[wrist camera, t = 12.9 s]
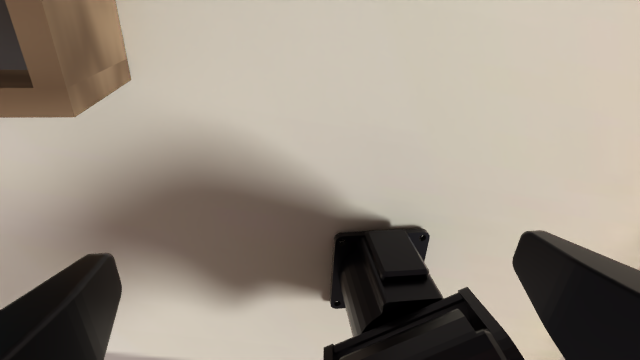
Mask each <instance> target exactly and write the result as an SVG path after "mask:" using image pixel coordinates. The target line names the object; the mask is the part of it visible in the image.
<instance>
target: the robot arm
mask: <svg viewBox="0 0 640 360" xmlns="http://www.w3.org/2000/svg"><path fill="white" fill-rule="evenodd" d="M422 235H423V237H421V238H419V237H420V236H422ZM342 239H344V241H343V242H339V241H340V240H342ZM428 242H429V234H428V233H427V231H426V230H425V229H406V230H403V229H399V230H378V231H366V232H346V233H339V234H337V235H336V236H335V238H334V247H333V262H332V276H331V290H330V303H331V307H332V308H335V309H338V308H346V311H347V315H348V319H349V323H350V326H351V330H352V334H353V337H352V338H350V339H348V340H345V341H343V342H340V343H338V344H336V345H333V344H331V345H329V346H326V347H324V360H524V358H523V356H522V355H521V353H520V352H519V350H518V349H517V347H516V345H515V344H514V343H513V341H512V340H511V338H510V337H509V336H508V334H507V333H506V332H505V331H504V329H503V328H502V327H501V326H500V325H499V323H498V322H497V321H496V320H495V319H494V318H493V316H492V315H491V314H490V313H489V312H488V311H487V309H486V308H485V307H484V306H483V305H482V304H481V302H480V301H479V300H478V299H477V298H476V297H475V295H474V294H473V293H472V292H471V291H470V290H469V288H468V287H466V288H463V289H461V290H458V293H456V294H454V295H451V296H449V297H447V298H443V296H442V295H441V293H440V291H439V290H438V288H437V286H436V284H435V283H434V281H433V279H432V278H431V276H430V274H429V270H428V268H427V266H426V265H425V263H424V260H425V256H426V251H427V247H428ZM513 267H514V270H515V272H516V274H517V276H518V278H519V280H520V281H521V283H522V285H523V287H524V289H525V291H526V293H527V295H528V297H529V299H530V300H531V302H532V304H533V306H534V308H535V310H536V312H537V314H538V316H539V318H540V319H541V321H542V323H543V325H544V327H545V328H546V330H547V332H548V333H549V335H550V336H551V338H552V340H553V341H554V343H555V344H556V346H557V347H558V349H559V350H560V352H561V353H562V355H563V357H564V358H565V360H640V271H639V270H637V269H634V268H632V267H630V266H627V265H625V264H622V263H620V262H618V261H615V260H613V259H610V258H608V257H606V256H603V255H601V254H598V253H596V252H593V251H591V250H589V249H586V248H584V247H581V246H579V245H577V244H574V243H572V242H569V241H567V240H565V239H562V238H560V237H557V236H555V235H553V234H550V233H548V232H545V231H541V230H539V231H526V232H524V233H523V234H522V235H521V237H520V240H519V243H518V246H517V248H516V251H515V254H514V256H513ZM121 292H122V285H121V281H120V277H119V274H118V270H117V267H116V263H115V260H114V258H113V256H112V255H111V254H109V253H98V254H88V255H86V256H84V257H83V258H81V259H79V260H78V261H76V262H75V263H73V264H72V265H70V266H69V267H67V268H65V269H64V270H62V271H61V272H59V273H58V274H56V275H55V276H53V277H51V278H50V279H48V280H47V281H45V282H44V283H42V284H41V285H39V286H37V287H36V288H34V289H33V290H31V291H30V292H28V293H27V294H25V295H23V296H22V297H20V298H19V299H17V300H16V301H14V302H12V303H11V304H9V305H8V306H6V307H5V308H3V309H2V310H0V360H104V357H105V353H106V350H107V346H108V342H109V338H110V335H111V331H112V327H113V324H114V320H115V316H116V312H117V309H118V305H119V301H120V298H121ZM336 301H338V302H336Z"/></svg>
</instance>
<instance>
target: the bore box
mask: <svg viewBox="0 0 640 360" xmlns="http://www.w3.org/2000/svg"><path fill="white" fill-rule="evenodd" d="M130 80H131V76H130V71H129V66H128V61H127V56H126V51H125V46H124V41H123V37H122V32H121V27H120V22H119V17H118V12H117V7H116V2H115V0H0V117H76V116H77V115H79V114H80V113H82V112H83V111H85V110H86V109H88V108H89V107H91V106H92V105H94V104H95V103H97V102H98V101H100V100H102V99H103V98H105V97H106V96H108V95H109V94H111V93H112V92H114V91H115V90H117V89H118V88H120V87H121V86H123V85H124V84H126V83H127V82H129V81H130Z"/></svg>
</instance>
